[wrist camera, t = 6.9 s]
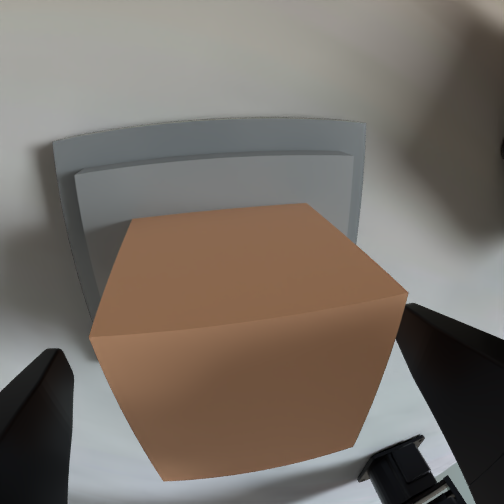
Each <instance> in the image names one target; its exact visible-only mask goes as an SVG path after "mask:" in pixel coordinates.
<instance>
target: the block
mask: <svg viewBox="0 0 504 504" xmlns="http://www.w3.org/2000/svg"><path fill="white" fill-rule="evenodd" d="M407 297H408V292H407V291H406V290H405V289H404V288H403V287H402V286H401V285H400V284H399V283H398V282H396V281H395V280H394V279H393V278H392V277H391V276H390V275H389V274H388V273H387V272H386V271H385V270H383V269H382V268H381V267H380V266H379V265H378V264H377V263H376V262H375V261H374V260H372V259H371V258H370V257H369V256H368V255H367V254H366V253H365V252H363V251H362V250H361V249H360V248H359V247H358V246H357V245H355V244H354V243H353V242H352V241H351V240H350V239H349V238H347V237H346V236H345V235H344V234H343V233H342V232H340V231H339V230H338V229H337V228H336V227H335V226H333V225H332V224H331V223H330V222H329V221H328V220H326V219H325V218H324V217H323V216H322V215H320V214H319V213H318V212H317V211H316V210H314V209H313V208H312V207H311V206H310V205H308V204H307V203H298V204H284V205H270V206H257V207H245V208H233V209H222V210H211V211H200V212H190V213H181V214H171V215H162V216H153V217H144V218H136V219H132V221H131V223H130V225H129V228H128V230H127V233H126V235H125V237H124V240H123V242H122V245H121V247H120V250H119V252H118V255H117V257H116V260H115V262H114V265H113V268H112V270H111V273H110V276H109V278H108V281H107V284H106V287H105V289H104V292H103V295H102V298H101V301H100V304H99V307H98V310H97V313H96V316H95V319H94V322H93V325H92V328H91V332H90V335H89V339H90V342H91V344H92V347H93V349H94V351H95V354H96V356H97V359H98V361H99V363H100V366H101V368H102V370H103V372H104V375H105V377H106V379H107V381H108V383H109V385H110V388H111V390H112V392H113V394H114V396H115V398H116V400H117V402H118V404H119V406H120V408H121V410H122V412H123V414H124V416H125V418H126V419H127V421H128V423H129V425H130V427H131V429H132V430H133V432H134V434H135V436H136V438H137V439H138V441H139V443H140V445H141V446H142V448H143V450H144V451H145V453H146V455H147V456H148V458H149V460H150V461H151V463H152V464H153V466H154V468H155V469H156V471H157V472H158V474H159V475H160V477H161V478H162V480H163V481H180V480H194V479H205V478H214V477H222V476H230V475H237V474H243V473H249V472H255V471H261V470H266V469H271V468H276V467H281V466H285V465H290V464H294V463H298V462H302V461H306V460H310V459H314V458H317V457H321V456H325V455H328V454H331V453H335V452H338V451H341V450H344V449H348V448H351V447H353V446H354V444H355V442H356V440H357V438H358V435H359V433H360V431H361V429H362V426H363V424H364V422H365V420H366V417H367V415H368V412H369V410H370V408H371V405H372V403H373V400H374V398H375V395H376V393H377V390H378V387H379V385H380V382H381V379H382V377H383V374H384V371H385V368H386V366H387V363H388V360H389V357H390V354H391V351H392V348H393V345H394V342H395V338H396V335H397V332H398V329H399V325H400V322H401V319H402V315H403V312H404V308H405V304H406V301H407Z"/></svg>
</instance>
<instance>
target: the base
mask: <svg viewBox="0 0 504 504" xmlns="http://www.w3.org/2000/svg"><path fill="white" fill-rule="evenodd" d="M365 142H366V123H363V122H356V121H349V120H337V119H319V118H287V117H252V118H221V119H202V120H188V121H176V122H166V123H156V124H147V125H139V126H131V127H124V128H117V129H111V130H105V131H99V132H93V133H87V134H82V135H77V136H72V137H67V138H64V139H60V140H57V141H54V142H53V151H54V160H55V167H56V174H57V181H58V187H59V193H60V199H61V204H62V210H63V215H64V220H65V224H66V229H67V234H68V238H69V242H70V246H71V251H72V255H73V259H74V262H75V266H76V270H77V274H78V277H79V281H80V284H81V287H82V291H83V294H84V297H85V301H86V304H87V307H88V310H89V313H90V316H91V319H92V322H94V319H95V316H96V313H97V310H98V307H99V304H100V301H101V298H102V295H103V292H104V289H105V287H106V284H107V281H108V278H109V276H110V273H111V270H112V268H113V265H114V262H115V260H116V257H117V255H118V252H119V250H120V247H121V245H122V242H123V240H124V237H125V235H126V233H127V230H128V228H129V225H130V223H131V221H132V219H136V218H144V217H153V216H162V215H171V214H181V213H190V212H200V211H211V210H222V209H233V208H245V207H257V206H270V205H284V204H298V203H307V204H308V205H310V206H311V207H312V208H313V209H314V210H316V211H317V212H318V213H319V214H320V215H322V216H323V217H324V218H325V219H326V220H328V221H329V222H330V223H331V224H332V225H333V226H335V227H336V228H337V229H338V230H339V231H340V232H342V233H343V234H344V235H345V236H346V237H347V238H349V239H350V240H351V241H352V242H353V243H354V244H355V245H356V241H357V233H358V225H359V216H360V207H361V196H362V185H363V173H364V159H365Z"/></svg>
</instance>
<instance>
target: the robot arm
mask: <svg viewBox="0 0 504 504" xmlns="http://www.w3.org/2000/svg"><path fill="white" fill-rule="evenodd" d="M395 339H396V341H397V343H398V345H399V348H400V350H401V352H402V354H403V356H404V359H405V361H406V363H407V365H408V368H409V370H410V372H411V374H412V377H413V379H414V380H415V382H416V384H417V386H418V388H419V390H420V391H421V393H422V395H423V397H424V399H425V401H426V402H427V404H428V406H429V408H430V410H431V412H432V414H433V415H434V417H435V419H436V421H437V423H438V425H439V427H440V429H441V431H442V433H443V435H444V437H445V439H446V441H447V443H448V445H449V447H450V449H451V451H452V453H453V455H454V457H455V459H456V461H457V463H458V465H459V467H460V469H461V471H462V473H463V476H464V478H465V480H466V482H467V484H468V486H469V489H470V491H471V494H472V496H473V498H474V501H475V503H476V504H504V340H503V339H501V338H498V337H496V336H493V335H491V334H489V333H486V332H484V331H481V330H479V329H477V328H474V327H472V326H469V325H467V324H464V323H462V322H460V321H457V320H455V319H452V318H450V317H447V316H445V315H443V314H440V313H438V312H435V311H433V310H430V309H428V308H425V307H423V306H420V305H418V304H416V303H409V304H405V308H404V312H403V315H402V319H401V322H400V325H399V329H398V332H397V335H396V338H395ZM73 391H74V375H73V371H72V369H71V367H70V365H69V363H68V361H67V359H66V357H65V355H64V353H63V351H62V350H61V349H59V348H50V349H46V350H45V351H43V352H42V353H41V354H40V355H39V356H38V357H37V358H36V359H35V360H34V361H32V362H31V363H30V364H29V365H28V366H27V367H26V368H25V369H24V370H23V371H22V372H21V373H20V374H18V375H17V376H16V377H15V378H14V379H13V380H12V381H11V382H10V383H9V384H8V385H7V386H6V387H5V388H4V389H3V390H2V391H1V392H0V504H67V500H68V476H69V461H70V450H71V440H72V425H73ZM424 439H425V437H424V436H423V435H421V436H418V437H416V438H414V439H412V440H410V441H407V442H405V443H403V444H401V445H398V446H396V447H394V448H391V449H389V450H386V451H384V452H381V453H379V454H376V455H374V456H373V457H372V458H371V459H370V460H369V462H368V464H367V465H366V467H365V468H364V470H363V471H362V473H361V474H360V476H359V478H358V479H357V480H358V482H363V481H365V480H368V479H370V480H371V482H372V484H373V486H374V488H375V490H376V492H377V494H378V496H379V498H380V500H381V502H382V504H422V503H424V502H425V501H427V500H428V499H430V498H432V497H433V496H435V495H436V494H438V493H439V492H441V491H442V490H444V489H445V488H447V489H448V491H447V492H445V493H443V494H441V495H440V496H438V497H437V498H435V499H434V500H432V501H430V502H429V503H427V504H466V502H465V501H464V499H463V498H462V496H461V494H460V493H459V492H458V490H457V488H456V487H455V485H454V484H453V482H452V481H451V479H450V478H449V476H448V475H447V476H446V477H444V478H443V480H441V481H440V482H438V483H437V481H436V479H435V478H434V476H433V474H432V473H431V469H430V468H429V466H428V464H427V463H426V461H425V459H424V458H423V456H422V455H421V453H420V451H419V450H418V447H419V446H420V444H421V443H422V441H423V440H424Z"/></svg>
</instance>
